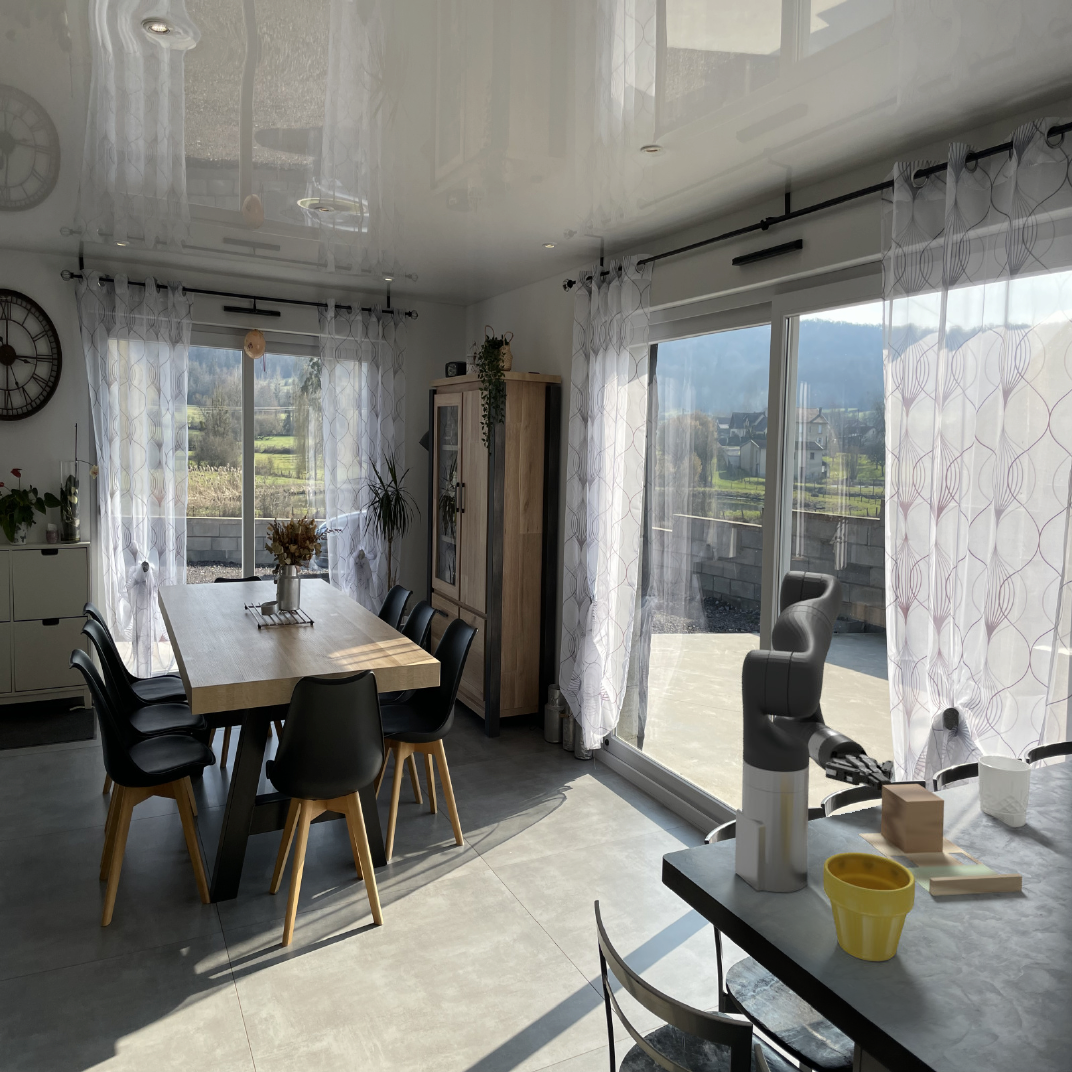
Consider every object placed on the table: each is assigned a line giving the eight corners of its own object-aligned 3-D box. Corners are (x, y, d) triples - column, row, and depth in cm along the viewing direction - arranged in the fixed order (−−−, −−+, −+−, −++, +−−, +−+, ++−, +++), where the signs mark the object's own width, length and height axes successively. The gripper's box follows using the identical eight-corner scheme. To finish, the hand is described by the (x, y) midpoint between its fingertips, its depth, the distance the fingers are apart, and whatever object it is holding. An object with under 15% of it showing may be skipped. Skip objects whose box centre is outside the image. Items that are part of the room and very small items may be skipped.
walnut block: (880, 834, 130) (882, 785, 129) (916, 832, 130) (917, 783, 130) (905, 853, 123) (906, 801, 122) (942, 851, 123) (944, 800, 123)
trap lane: (858, 843, 130) (858, 821, 130) (934, 839, 131) (935, 818, 131) (932, 905, 110) (933, 880, 110) (1021, 901, 111) (1022, 876, 111)
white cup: (1039, 829, 135) (1041, 771, 135) (991, 829, 135) (993, 770, 135) (1012, 811, 143) (1014, 755, 143) (967, 810, 143) (969, 755, 143)
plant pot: (872, 981, 93) (874, 898, 92) (804, 937, 102) (805, 861, 101) (931, 957, 98) (934, 878, 97) (861, 917, 107) (863, 845, 106)
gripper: (802, 734, 150) (848, 766, 133) (870, 732, 151) (924, 763, 134) (802, 774, 150) (847, 811, 133) (869, 772, 152) (923, 808, 134)
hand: (886, 787), depth 134 cm, fingers closed
